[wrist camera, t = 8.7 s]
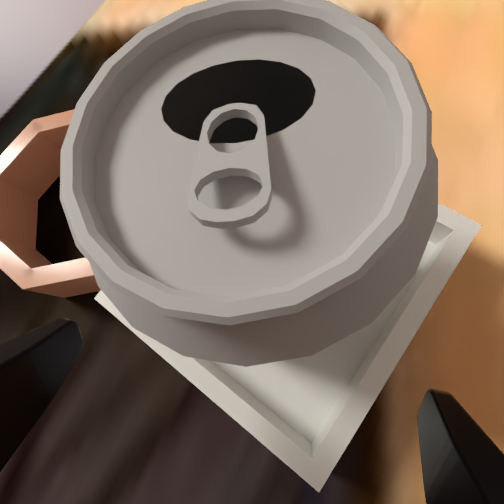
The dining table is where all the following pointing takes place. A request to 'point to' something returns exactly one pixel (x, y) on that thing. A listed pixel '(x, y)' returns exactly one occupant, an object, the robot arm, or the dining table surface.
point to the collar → (35, 211)
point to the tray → (325, 368)
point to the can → (252, 178)
